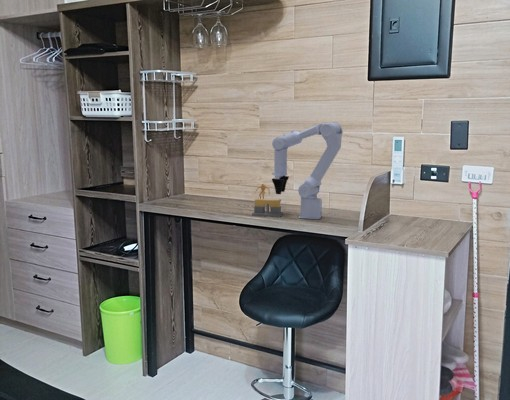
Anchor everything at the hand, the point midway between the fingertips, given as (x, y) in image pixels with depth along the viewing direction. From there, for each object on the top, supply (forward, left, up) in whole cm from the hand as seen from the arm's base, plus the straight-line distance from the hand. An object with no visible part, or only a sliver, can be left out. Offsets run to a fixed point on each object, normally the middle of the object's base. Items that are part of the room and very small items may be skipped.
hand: (280, 192), depth 239 cm
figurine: (+12, -12, -10) cm, 20 cm away
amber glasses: (+5, +3, -6) cm, 8 cm away
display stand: (+5, +4, -10) cm, 12 cm away
